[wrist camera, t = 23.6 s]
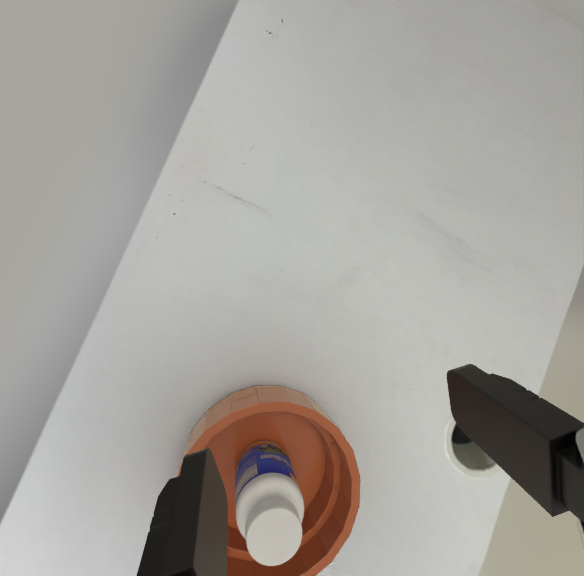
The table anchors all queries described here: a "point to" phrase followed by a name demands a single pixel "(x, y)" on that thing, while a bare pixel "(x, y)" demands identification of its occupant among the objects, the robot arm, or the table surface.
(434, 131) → the table surface
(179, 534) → the robot arm
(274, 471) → the pill bottle
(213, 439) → the bowl
